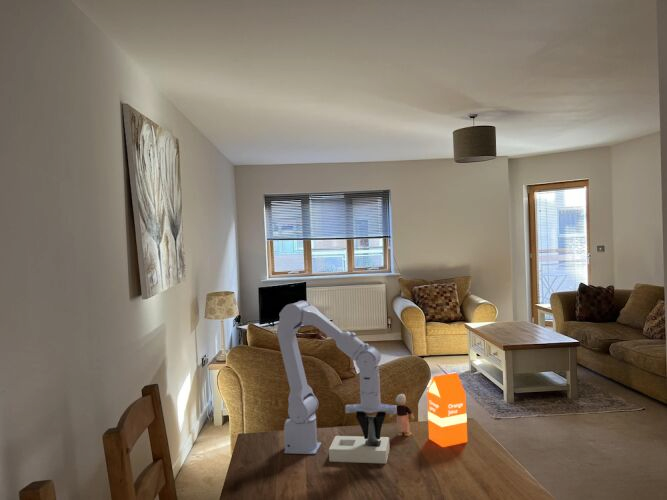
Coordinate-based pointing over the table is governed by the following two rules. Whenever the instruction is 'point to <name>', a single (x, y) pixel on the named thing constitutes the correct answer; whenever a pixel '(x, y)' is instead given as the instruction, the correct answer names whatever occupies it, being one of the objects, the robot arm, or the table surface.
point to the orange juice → (447, 410)
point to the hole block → (358, 450)
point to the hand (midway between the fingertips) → (372, 437)
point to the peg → (371, 431)
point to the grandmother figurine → (402, 416)
